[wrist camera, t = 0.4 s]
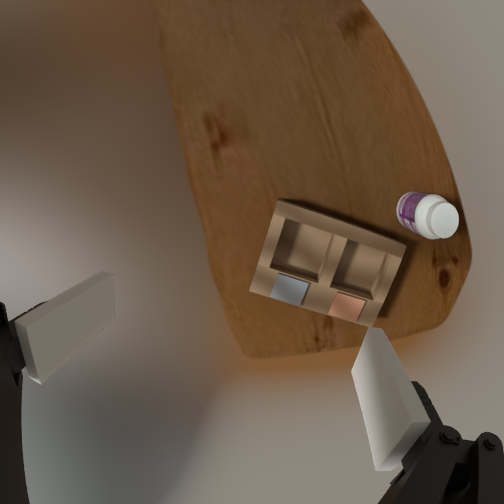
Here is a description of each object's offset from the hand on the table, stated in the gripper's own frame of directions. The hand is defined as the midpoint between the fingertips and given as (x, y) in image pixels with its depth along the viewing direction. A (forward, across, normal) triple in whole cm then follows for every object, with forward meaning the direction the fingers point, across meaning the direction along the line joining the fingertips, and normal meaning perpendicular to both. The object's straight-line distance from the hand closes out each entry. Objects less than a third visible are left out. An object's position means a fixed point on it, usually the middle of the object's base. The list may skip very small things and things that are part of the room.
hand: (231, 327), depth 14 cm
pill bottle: (+26, +19, +7) cm, 33 cm away
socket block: (+26, +8, -2) cm, 27 cm away
